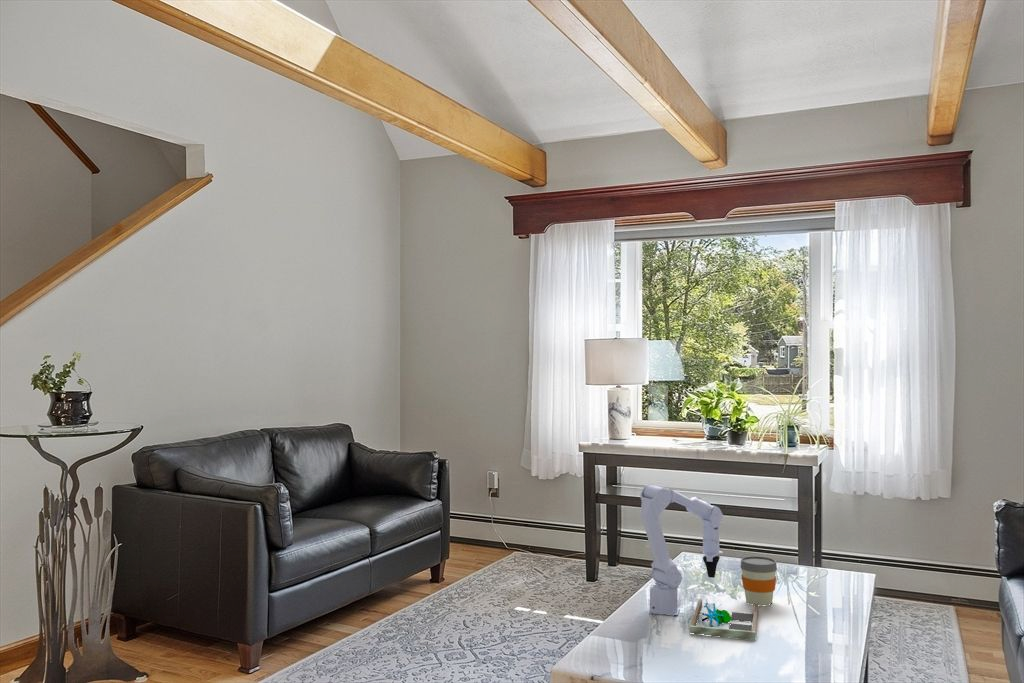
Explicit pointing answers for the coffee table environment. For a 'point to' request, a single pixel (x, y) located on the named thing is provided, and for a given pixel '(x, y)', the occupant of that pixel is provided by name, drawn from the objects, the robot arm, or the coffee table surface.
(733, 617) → the mats
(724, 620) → the stick construction toy
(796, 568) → the coffee table surface
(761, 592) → the reusable coffee cup
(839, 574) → the coffee table surface
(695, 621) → the channel box
